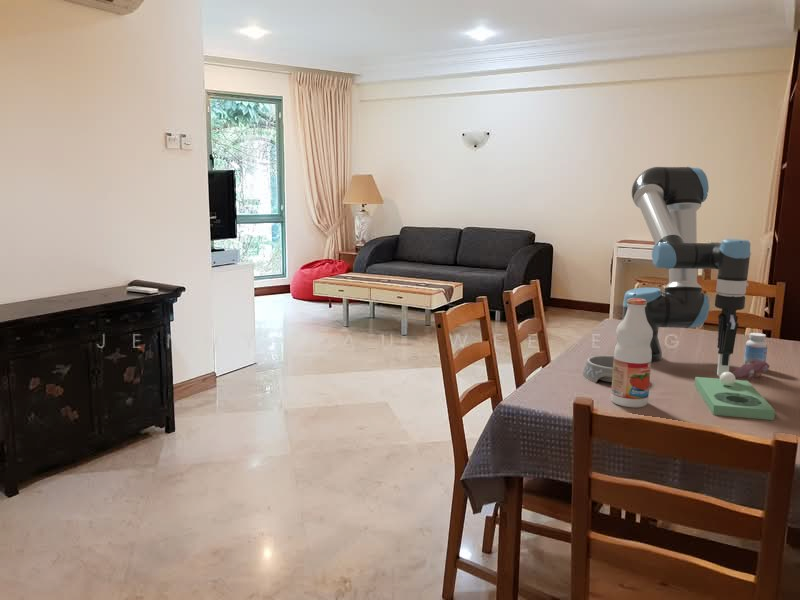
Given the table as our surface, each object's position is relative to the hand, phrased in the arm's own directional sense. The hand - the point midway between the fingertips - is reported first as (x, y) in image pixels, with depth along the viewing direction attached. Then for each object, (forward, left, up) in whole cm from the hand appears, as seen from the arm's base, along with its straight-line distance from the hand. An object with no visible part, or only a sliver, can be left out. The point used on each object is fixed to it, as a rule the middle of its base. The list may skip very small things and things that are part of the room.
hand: (722, 375), depth 189 cm
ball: (0, -6, +1) cm, 6 cm away
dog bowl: (-30, +2, -4) cm, 30 cm away
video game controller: (+11, +15, -4) cm, 19 cm away
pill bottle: (+15, +26, -4) cm, 30 cm away
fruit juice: (-27, -21, -4) cm, 35 cm away
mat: (0, -12, -4) cm, 13 cm away
